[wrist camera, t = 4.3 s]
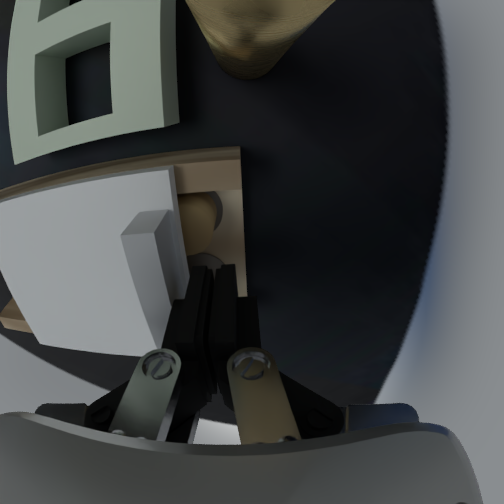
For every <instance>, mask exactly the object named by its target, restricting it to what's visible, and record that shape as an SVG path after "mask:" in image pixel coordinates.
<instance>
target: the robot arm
mask: <svg viewBox="0 0 504 504" xmlns="http://www.w3.org/2000/svg"><path fill="white" fill-rule="evenodd" d="M217 382H218V386H219V389H220V393H221V394H222V396H223V400H224V404H225V405H226V406H227V407H229V408H230V409H231V410H232V411H234V412H235V416H236V421H237V426H238V431H239V436H240V440H241V445H205V444H193V441H194V437H195V433H196V429H197V425H198V421H199V417H200V409H201V408H203V407H204V406H205V405H206V404H207V402H211V399H212V394H217ZM0 504H483V501H482V497H481V493H480V489H479V485H478V482H477V479H476V476H475V474H474V471H473V468H472V465H471V463H470V460H469V458H468V456H467V454H466V451H465V450H464V448H463V446H462V444H461V443H460V441H459V439H458V438H457V437H456V435H455V434H454V433H453V432H452V431H450V430H449V429H448V428H446V427H443V426H441V425H437V424H431V423H422V422H419V417H418V414H417V412H416V410H415V409H414V408H413V407H412V406H410V405H408V404H404V403H393V404H349V405H348V407H338V406H336V405H335V404H334V403H332V402H330V401H329V400H327V399H325V398H323V397H321V396H320V395H318V394H316V393H314V392H313V391H311V390H309V389H308V388H306V387H304V386H303V385H301V384H299V383H298V382H296V381H294V380H293V379H291V378H289V377H288V376H286V375H284V374H283V373H281V372H280V371H278V368H277V365H276V362H275V360H274V358H273V356H272V355H271V354H270V353H269V352H268V351H266V350H264V349H261V341H260V330H259V318H258V307H257V297H256V296H244V297H238V288H237V277H236V266H235V264H223V265H221V268H217V269H216V272H215V280H214V277H213V270H212V269H208V268H207V266H206V265H204V266H192V270H191V274H190V277H189V282H188V286H187V290H186V294H185V298H184V299H175V300H174V301H173V304H172V308H171V311H170V315H169V319H168V322H167V326H166V330H165V334H164V338H163V342H162V346H161V349H155V350H152V351H150V352H148V353H146V354H145V355H144V356H142V358H141V359H140V361H139V362H138V364H137V367H136V369H135V371H134V373H133V375H132V377H131V379H130V380H128V381H127V382H125V383H124V384H122V385H120V386H119V387H117V388H116V389H114V390H112V391H111V392H109V393H108V394H106V395H104V396H103V397H101V398H100V399H98V400H96V401H95V402H93V403H92V404H91V405H90V406H87V405H86V404H85V403H80V404H79V403H78V404H51V403H50V404H49V403H47V404H42V405H41V406H40V407H38V409H37V410H36V411H35V414H34V413H28V412H9V413H4V414H1V415H0Z"/></svg>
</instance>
